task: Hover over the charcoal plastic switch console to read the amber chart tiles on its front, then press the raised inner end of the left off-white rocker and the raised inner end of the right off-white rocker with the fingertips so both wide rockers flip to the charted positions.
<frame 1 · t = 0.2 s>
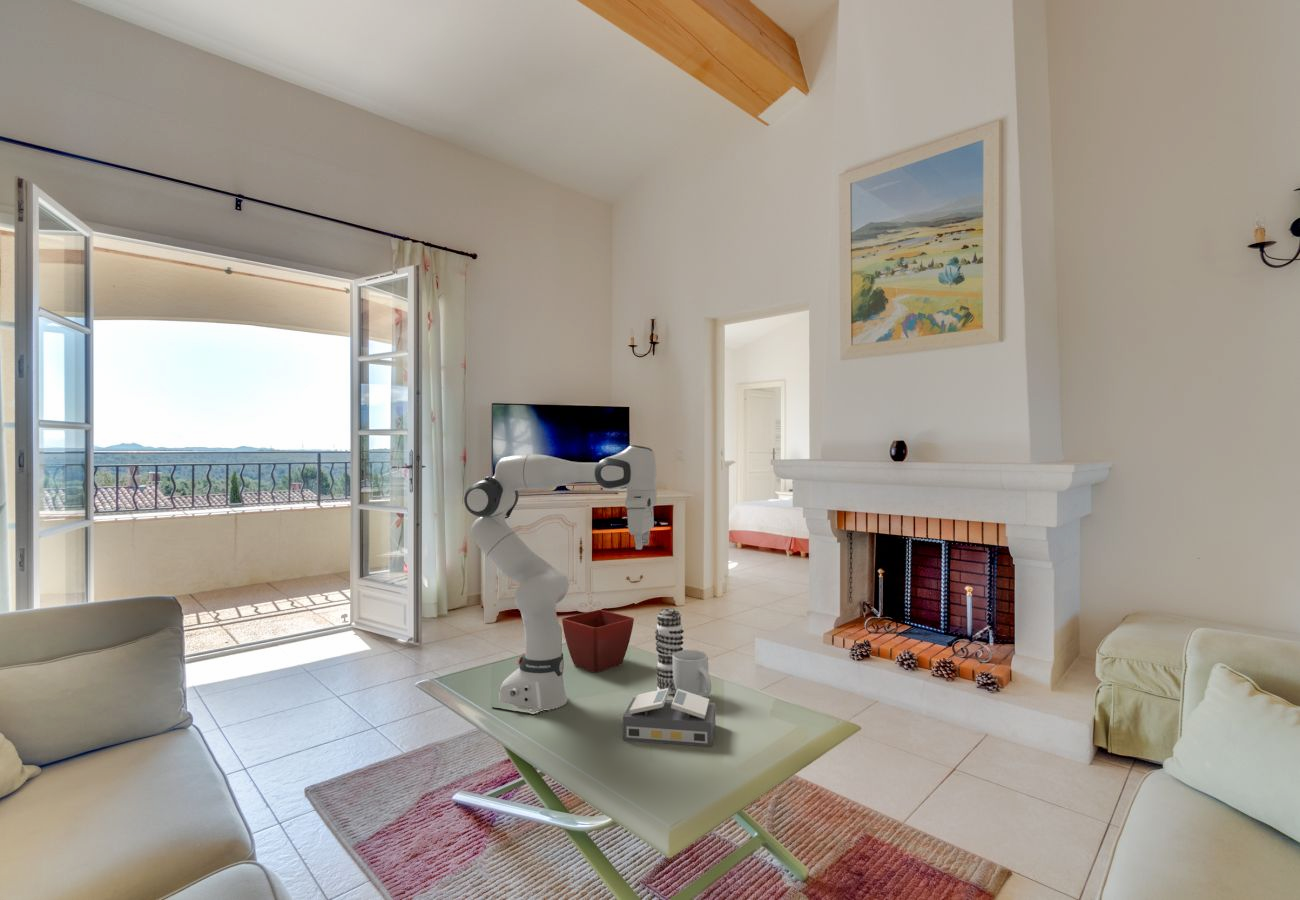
hand: (642, 547, 176), 47 cm above the table, fingers open, 8 cm apart
plant pot: (598, 665, 215), on the table
black and white cylinder: (670, 689, 191), on the table, touching mug
switch console: (670, 732, 160), on the table
rocker right: (690, 703, 159), point 8 cm above the table, hinge at 15.0°
mug: (692, 699, 183), on the table, touching black and white cylinder
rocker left: (649, 700, 161), point 8 cm above the table, hinge at -15.0°
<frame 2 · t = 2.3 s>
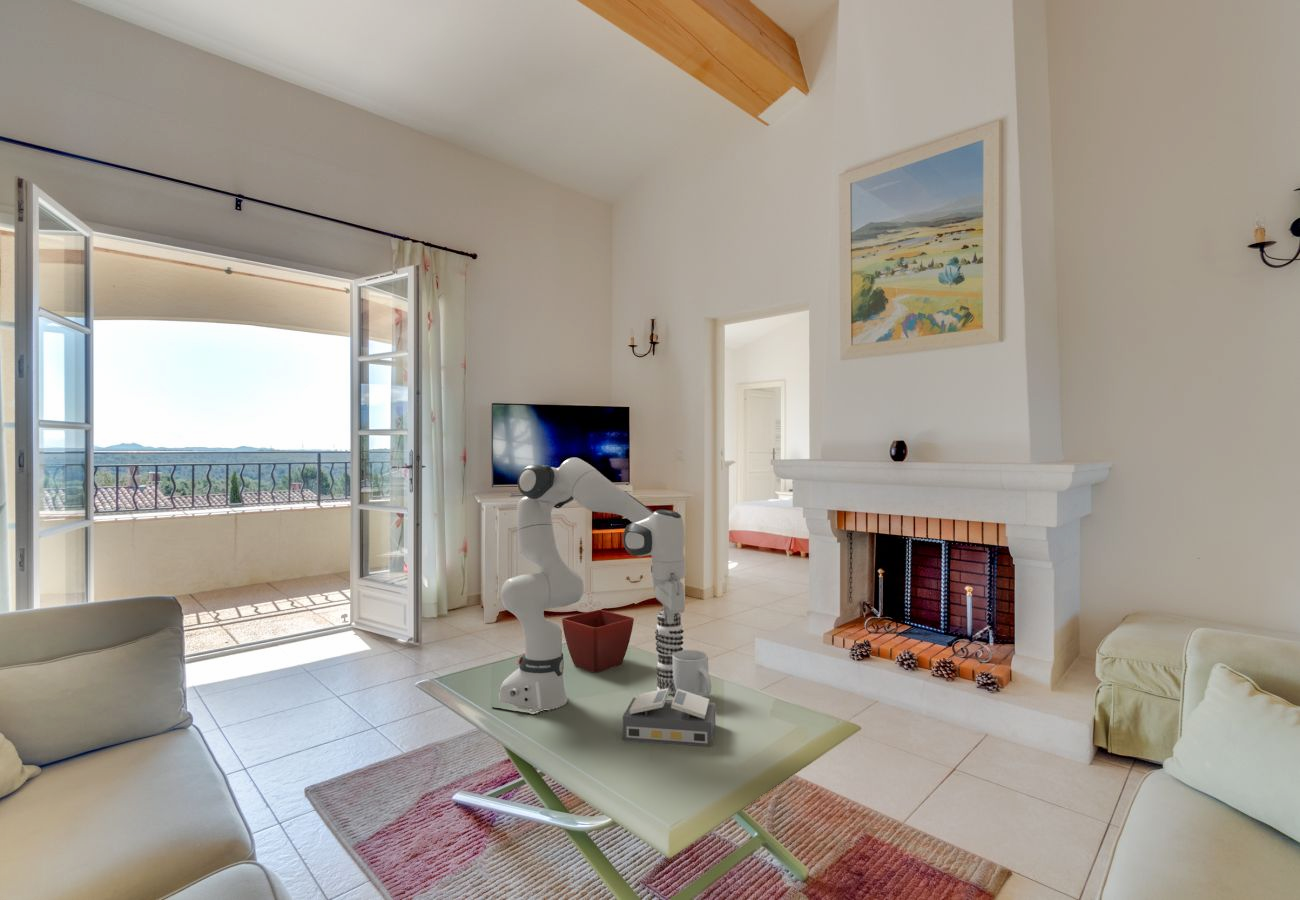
hand: (669, 622, 161), 29 cm above the table, fingers closed
nothing on the table moved.
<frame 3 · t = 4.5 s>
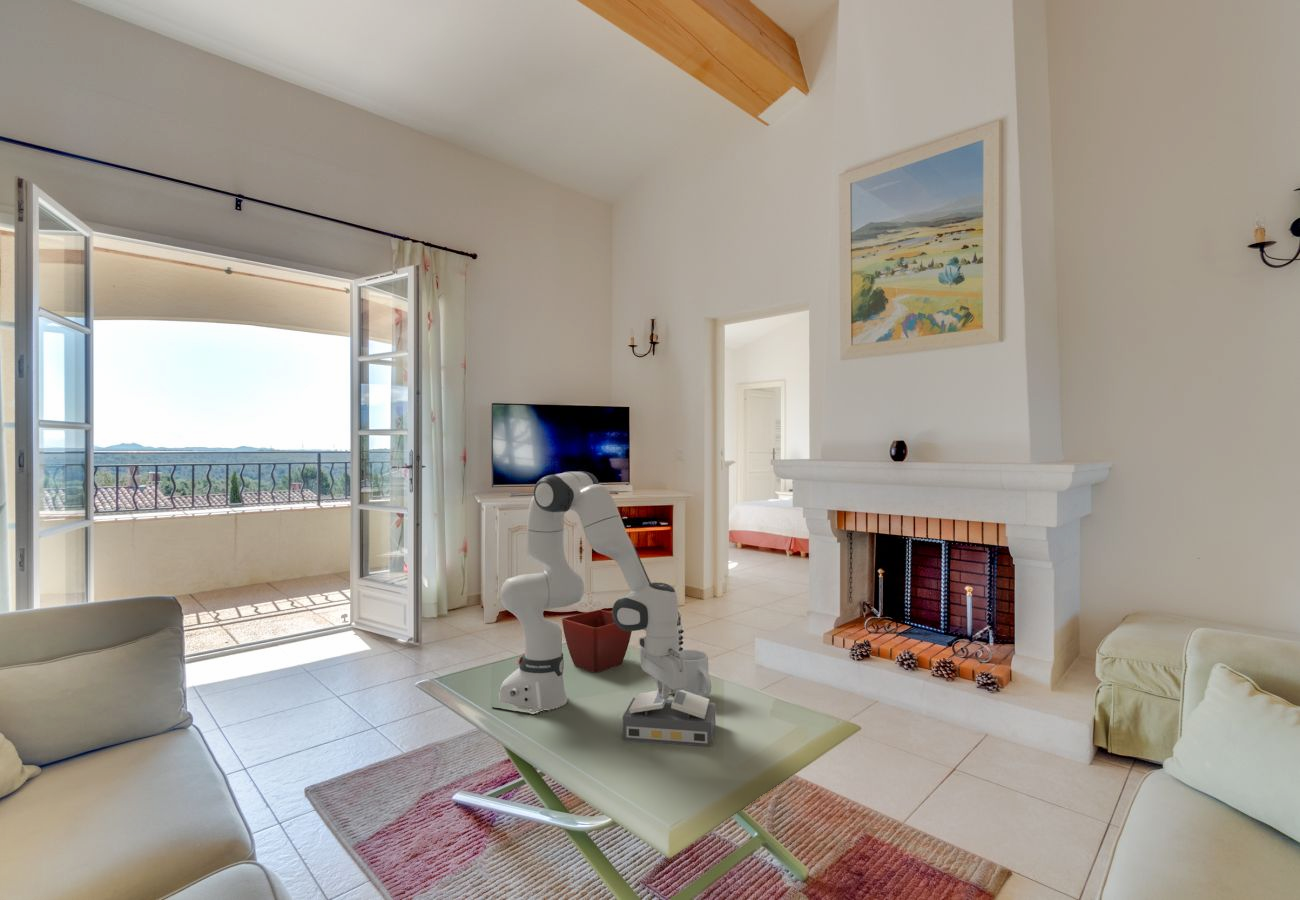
hand: (663, 696, 160), 9 cm above the table, fingers closed, pressing on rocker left
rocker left: (649, 700, 161), point 8 cm above the table, hinge at -11.8°, touching gripper
everything else where it was.
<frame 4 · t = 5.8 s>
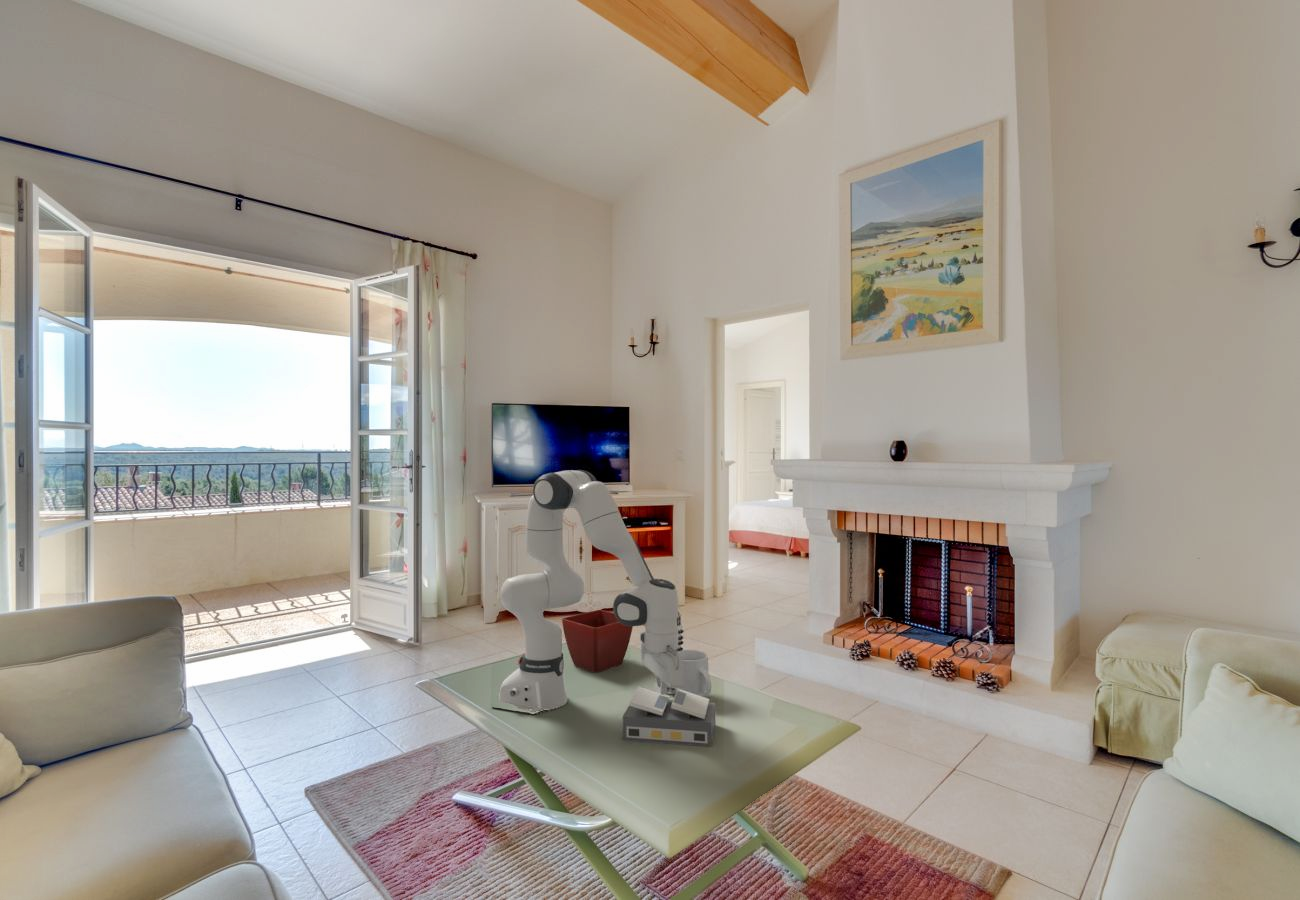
hand: (661, 692, 161), 10 cm above the table, fingers closed
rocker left: (649, 700, 161), point 8 cm above the table, hinge at 13.0°
everything else where it was.
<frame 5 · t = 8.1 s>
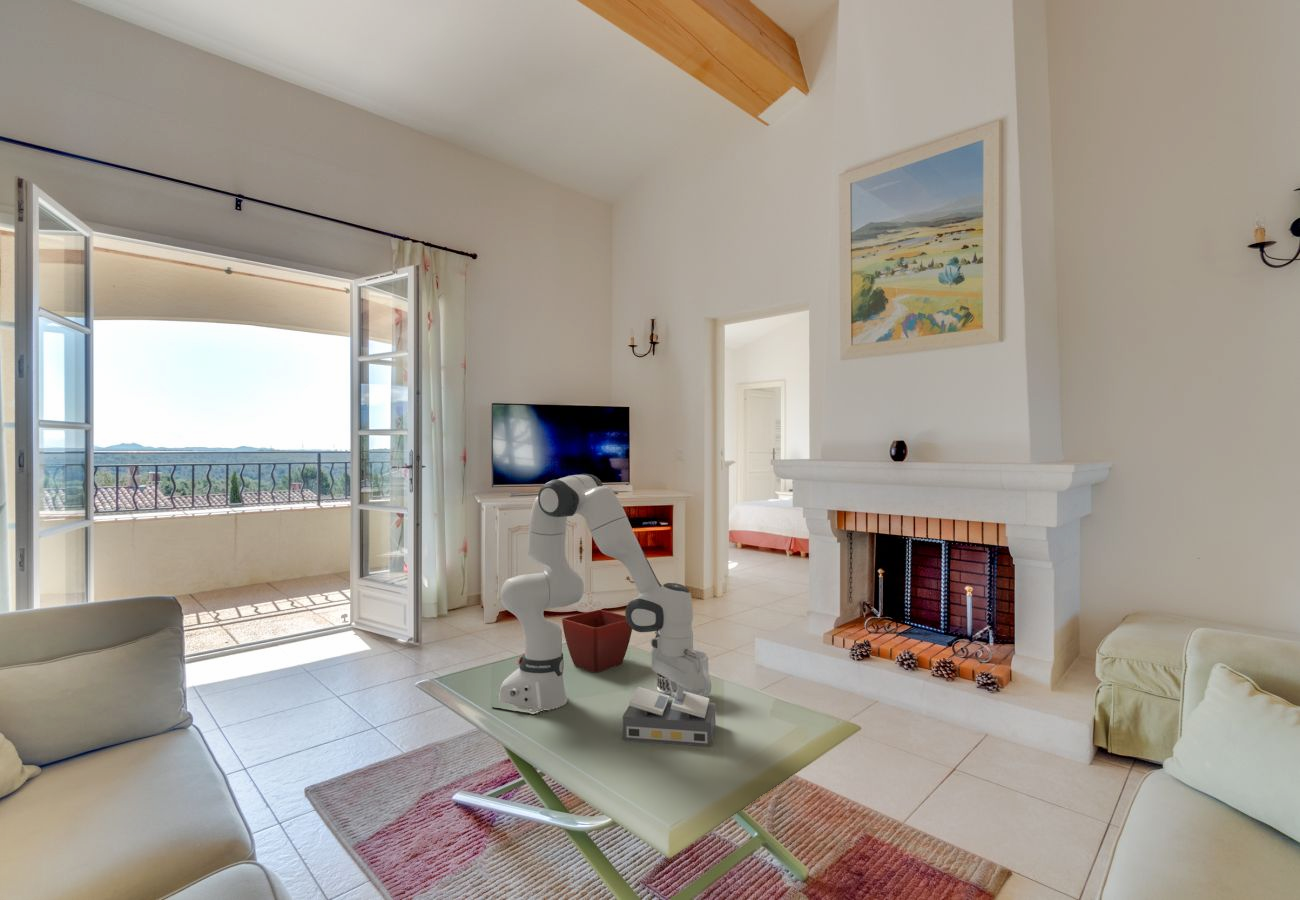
hand: (677, 697, 160), 9 cm above the table, fingers closed, pressing on rocker right
rocker right: (690, 703, 159), point 8 cm above the table, hinge at 12.1°, touching gripper
everything else where it was.
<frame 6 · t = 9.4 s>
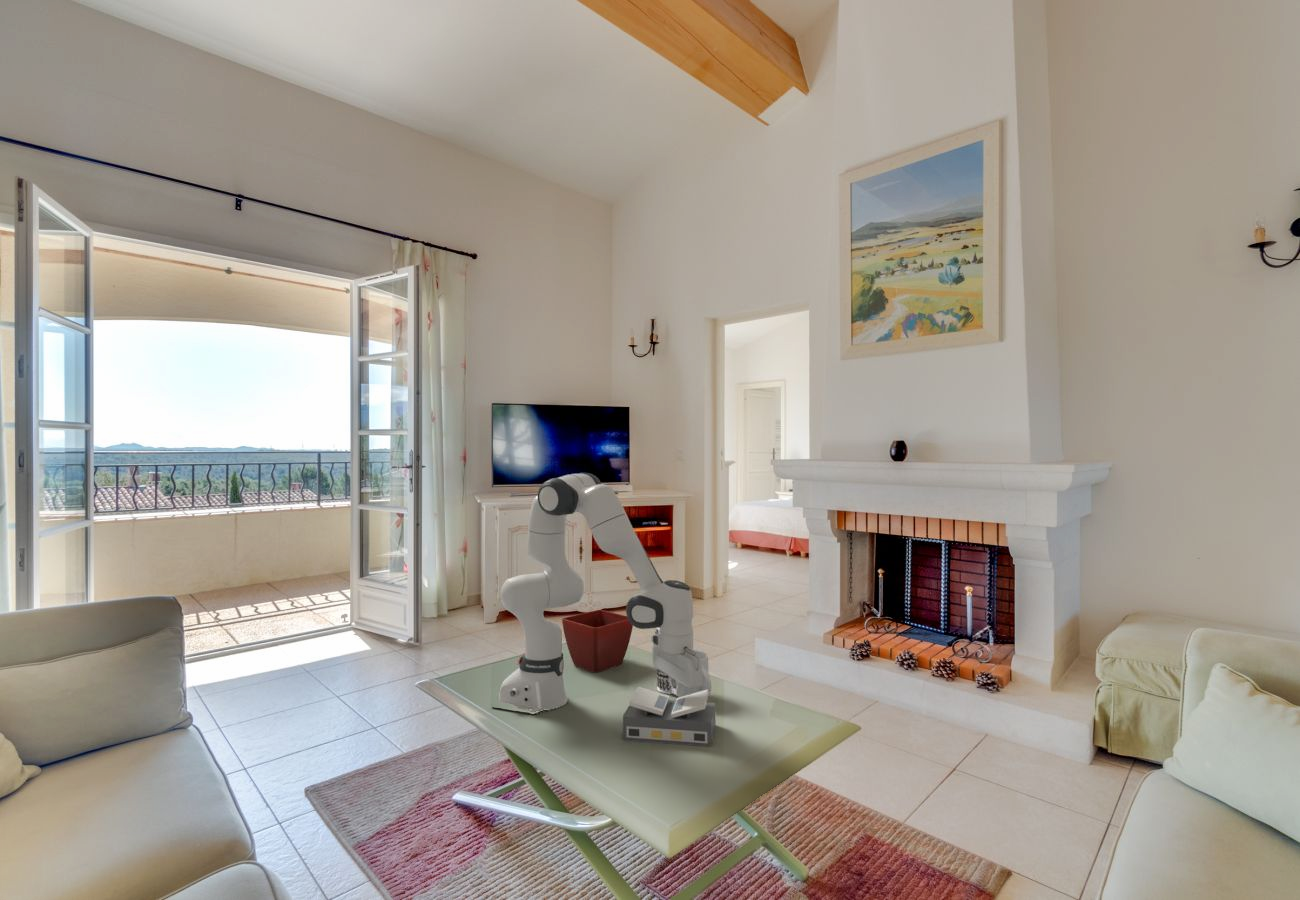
hand: (676, 694, 160), 10 cm above the table, fingers closed
rocker right: (690, 703, 159), point 8 cm above the table, hinge at -18.8°
everything else where it was.
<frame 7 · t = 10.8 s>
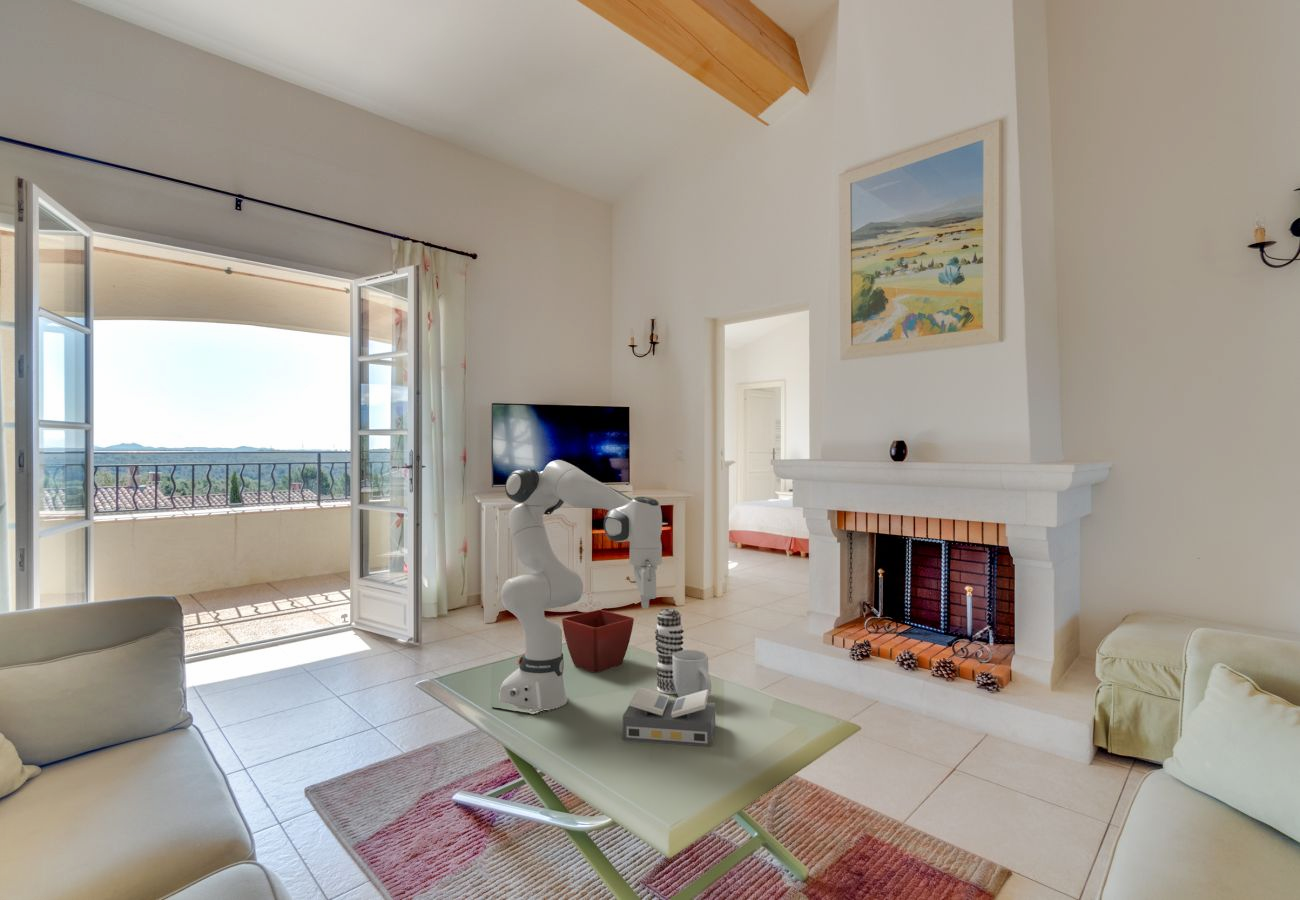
hand: (644, 607, 164), 32 cm above the table, fingers closed
nothing on the table moved.
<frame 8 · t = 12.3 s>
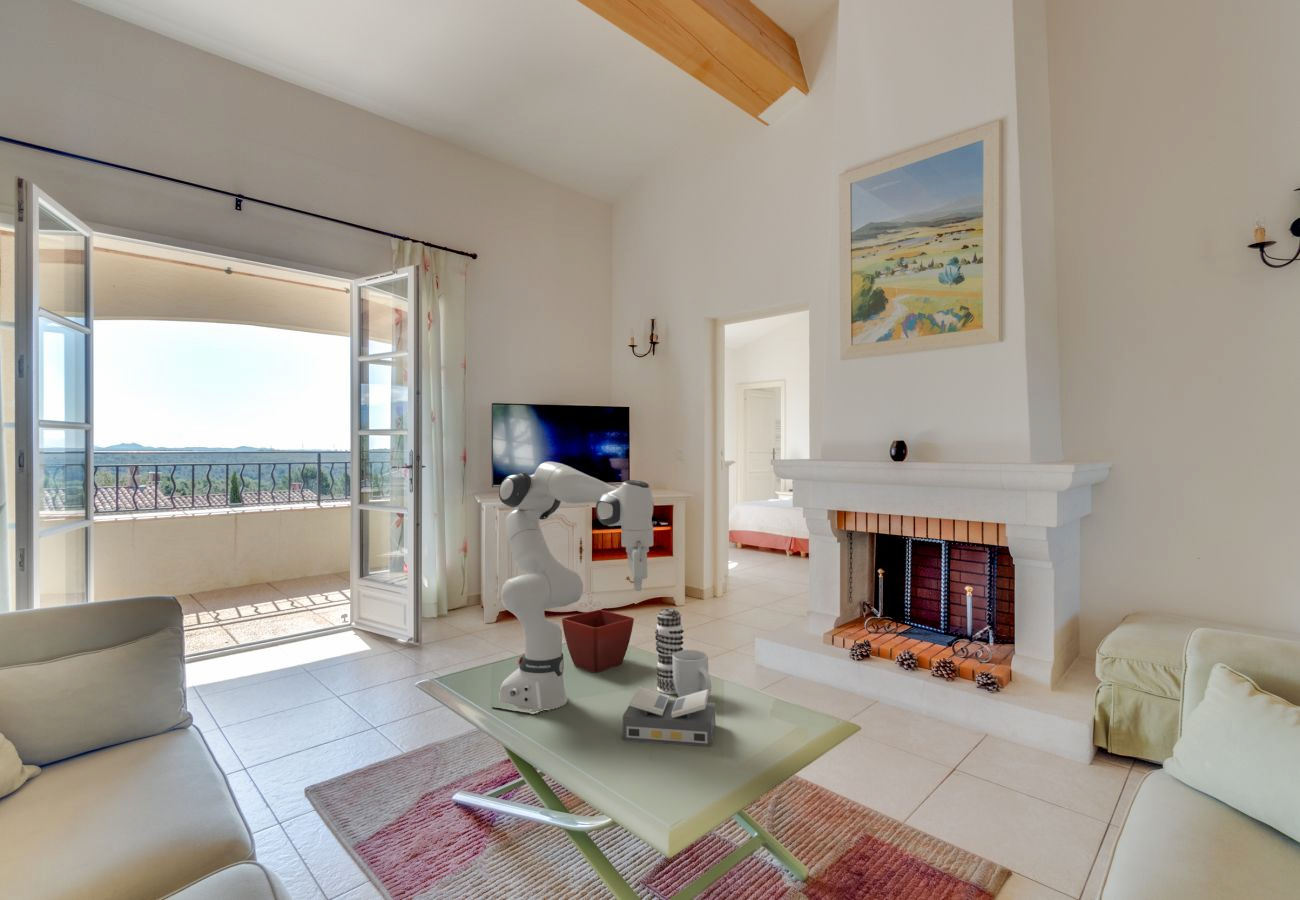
hand: (637, 589, 165), 37 cm above the table, fingers closed
nothing on the table moved.
at the end: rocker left at +13° (first picture: -15°); rocker right at -19° (first picture: +15°) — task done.
